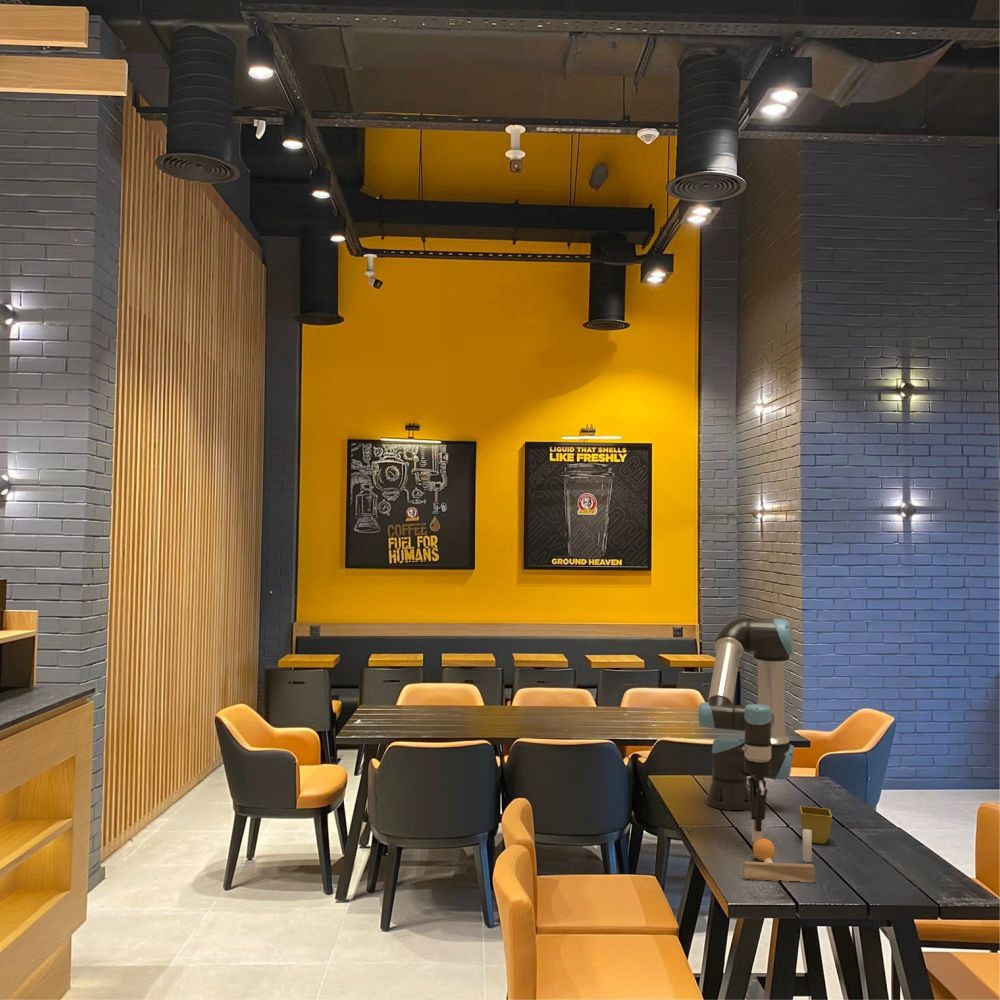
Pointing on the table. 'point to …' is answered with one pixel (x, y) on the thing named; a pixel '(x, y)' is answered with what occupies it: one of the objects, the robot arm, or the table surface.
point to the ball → (763, 849)
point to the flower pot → (816, 822)
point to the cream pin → (768, 860)
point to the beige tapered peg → (807, 845)
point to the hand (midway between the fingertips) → (757, 841)
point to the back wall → (779, 871)
